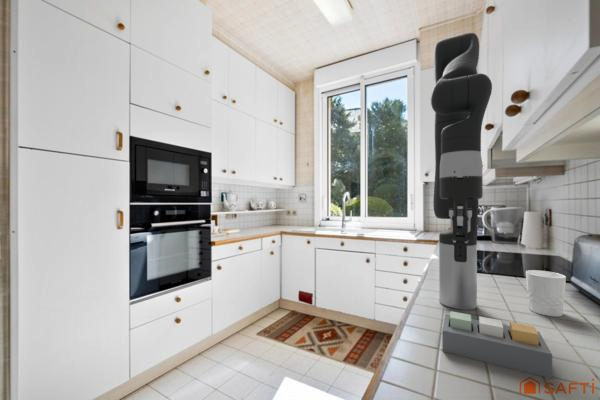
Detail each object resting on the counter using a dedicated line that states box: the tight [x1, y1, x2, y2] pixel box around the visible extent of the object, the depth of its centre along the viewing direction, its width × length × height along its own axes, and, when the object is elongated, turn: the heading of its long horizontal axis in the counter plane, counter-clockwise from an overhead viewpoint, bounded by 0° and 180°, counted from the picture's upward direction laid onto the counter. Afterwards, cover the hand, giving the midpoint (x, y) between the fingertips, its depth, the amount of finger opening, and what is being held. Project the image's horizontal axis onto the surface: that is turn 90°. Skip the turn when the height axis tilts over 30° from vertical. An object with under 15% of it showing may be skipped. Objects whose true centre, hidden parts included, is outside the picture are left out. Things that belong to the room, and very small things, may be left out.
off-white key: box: [478, 316, 504, 338], centre depth 53 cm, size 4×4×2 cm
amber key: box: [509, 321, 539, 345], centre depth 50 cm, size 4×4×2 cm
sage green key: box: [449, 310, 472, 331], centre depth 55 cm, size 4×4×2 cm
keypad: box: [442, 313, 553, 379], centre depth 53 cm, size 9×16×4 cm, turn 59°
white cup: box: [525, 269, 567, 317], centre depth 72 cm, size 8×8×10 cm
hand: (460, 260), depth 55 cm, fingers closed
